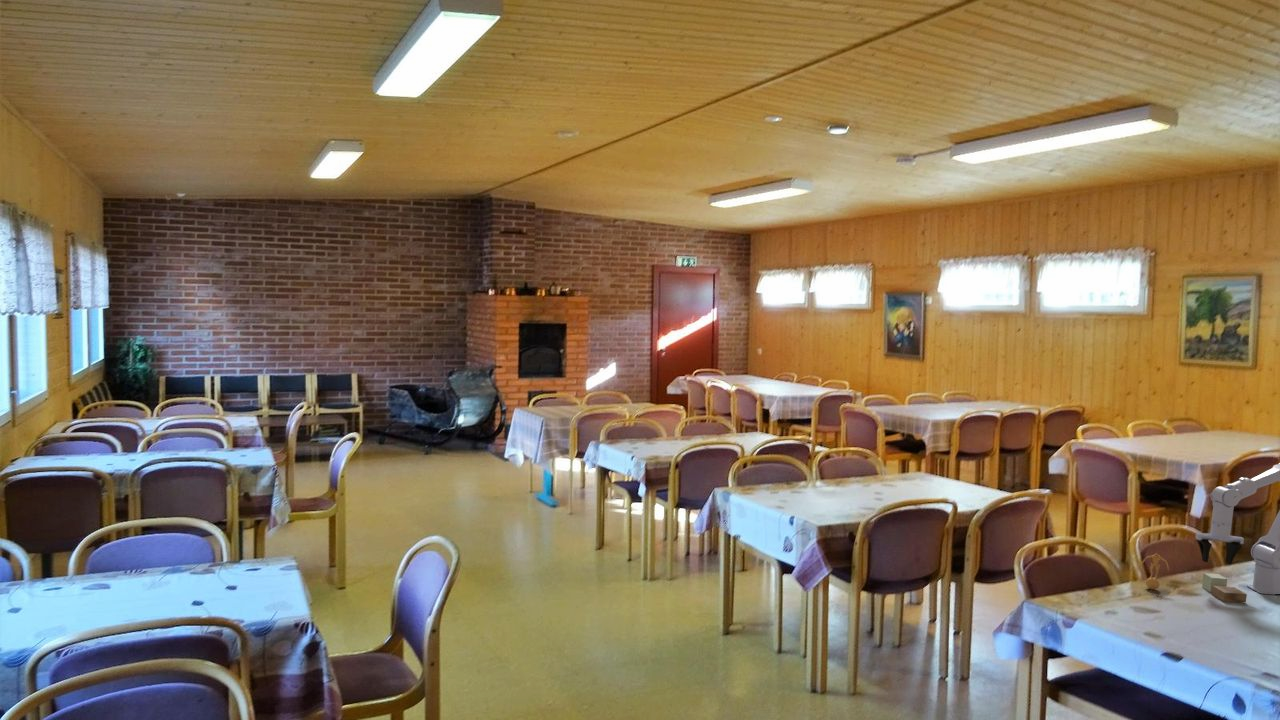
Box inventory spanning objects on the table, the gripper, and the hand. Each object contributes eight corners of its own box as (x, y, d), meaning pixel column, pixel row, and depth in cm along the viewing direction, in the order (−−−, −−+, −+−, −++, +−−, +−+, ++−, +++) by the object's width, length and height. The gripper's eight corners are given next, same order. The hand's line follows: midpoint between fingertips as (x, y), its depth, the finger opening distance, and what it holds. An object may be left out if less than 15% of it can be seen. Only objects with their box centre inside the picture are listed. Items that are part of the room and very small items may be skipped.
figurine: (1137, 587, 308) (1140, 552, 306) (1140, 583, 312) (1143, 549, 311) (1165, 593, 302) (1168, 558, 301) (1168, 589, 307) (1171, 554, 306)
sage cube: (1217, 588, 311) (1218, 574, 311) (1225, 593, 306) (1227, 578, 306) (1202, 587, 312) (1203, 573, 311) (1210, 592, 307) (1211, 577, 306)
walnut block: (1233, 595, 304) (1234, 587, 304) (1245, 603, 297) (1246, 594, 297) (1211, 594, 304) (1212, 585, 304) (1223, 601, 297) (1224, 592, 297)
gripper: (1205, 524, 304) (1200, 564, 305) (1251, 527, 303) (1245, 568, 304) (1194, 518, 311) (1189, 557, 312) (1238, 522, 310) (1233, 561, 311)
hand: (1216, 562), depth 308 cm, fingers open, 7 cm apart
